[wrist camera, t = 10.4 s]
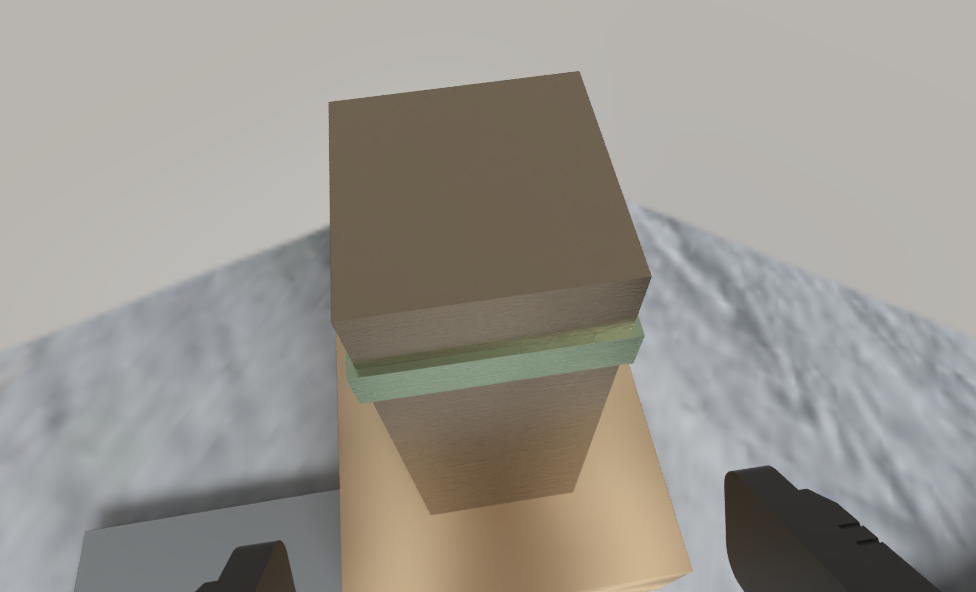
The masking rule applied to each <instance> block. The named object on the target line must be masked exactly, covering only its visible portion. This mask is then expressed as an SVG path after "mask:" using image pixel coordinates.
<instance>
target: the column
mask: <svg viewBox="0 0 976 592" xmlns="http://www.w3.org/2000/svg"><path fill="white" fill-rule="evenodd" d="M329 166H330V167H329V171H330V261H331V323H332V325H333V327H334V329H335V331H336V333H337V334H338V336H339V338H340V340H341V342H342V344H343V346H344V348H345V353H346V380H347V382H348V384H349V386H350V387H351V389H352V391H353V393H354V394H355V396H356V398H357V400H358V401H359V403H360V404H363V403H370V402H373V404H374V406H375V408H376V410H377V412H378V414H379V416H380V418H381V420H382V422H383V423H384V425H385V427H386V429H387V431H388V433H389V435H390V437H391V439H392V441H393V443H394V445H395V447H396V449H397V451H398V452H399V454H400V456H401V458H402V460H403V462H404V464H405V466H406V468H407V470H408V472H409V474H410V476H411V478H412V480H413V481H414V483H415V485H416V487H417V489H418V491H419V493H420V495H421V497H422V499H423V501H424V503H425V505H426V507H427V509H428V510H429V512H430V514H431V515H436V514H442V513H448V512H454V511H461V510H467V509H473V508H479V507H486V506H492V505H498V504H504V503H510V502H517V501H523V500H529V499H535V498H542V497H548V496H554V495H560V494H567V493H573V491H574V489H575V486H576V483H577V480H578V478H579V475H580V472H581V469H582V467H583V464H584V461H585V458H586V456H587V453H588V450H589V447H590V445H591V442H592V439H593V436H594V434H595V431H596V428H597V425H598V423H599V420H600V417H601V414H602V412H603V409H604V406H605V403H606V401H607V398H608V395H609V392H610V390H611V387H612V384H613V381H614V379H615V376H616V373H617V370H618V368H619V365H624V364H630V363H634V360H635V358H636V355H637V353H638V350H639V348H640V346H641V343H642V341H643V338H644V333H643V329H642V326H641V323H640V320H639V317H638V313H639V310H640V307H641V304H642V302H643V299H644V296H645V293H646V291H647V288H648V285H649V282H650V280H651V277H652V276H651V273H650V270H649V268H648V265H647V262H646V259H645V256H644V253H643V251H642V248H641V245H640V242H639V239H638V236H637V234H636V231H635V228H634V225H633V222H632V219H631V217H630V214H629V211H628V208H627V205H626V202H625V199H624V197H623V194H622V191H621V188H620V185H619V182H618V180H617V177H616V174H615V171H614V168H613V166H612V163H611V160H610V157H609V154H608V151H607V148H606V146H605V143H604V140H603V137H602V134H601V131H600V129H599V126H598V123H597V120H596V117H595V114H594V112H593V109H592V106H591V103H590V100H589V97H588V95H587V92H586V89H585V86H584V83H583V80H582V77H581V75H580V72H579V71H577V72H568V73H561V74H553V75H544V76H536V77H528V78H520V79H512V80H504V81H496V82H487V83H479V84H471V85H463V86H455V87H447V88H440V89H431V90H423V91H415V92H407V93H399V94H391V95H382V96H374V97H366V98H359V99H351V100H342V101H334V102H329Z"/></svg>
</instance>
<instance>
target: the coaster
mask: <svg viewBox="0 0 976 592" xmlns="http://www.w3.org/2000/svg"><path fill="white" fill-rule="evenodd" d="M278 540H281V541H282V542H283V543H284V545H285V547H286V550H287V554H288V558H289V563H290V567H291V572H292V576H293V581H294V585H295V590H296V592H342V559H341V520H340V489H338V490H332V491H326V492H320V493H314V494H308V495H301V496H295V497H289V498H283V499H277V500H271V501H265V502H259V503H253V504H247V505H241V506H235V507H229V508H223V509H217V510H211V511H205V512H199V513H193V514H187V515H181V516H175V517H169V518H163V519H157V520H151V521H145V522H139V523H133V524H127V525H120V526H114V527H108V528H102V529H96V530H90V531H85V536H84V541H83V546H82V552H81V557H80V562H79V568H78V573H77V578H76V583H75V589H74V592H195V591H196V590H197V589H198V588H199V587H200V586H201V585H202V584H203V583H205V582H212V581H218V579H219V577H220V575H221V573H222V571H223V569H224V567H225V565H226V563H227V561H228V560H229V558H230V556H231V554H232V552H233V550H234V549H235V548H236V547H239V546H245V545H252V544H258V543H265V542H271V541H278Z"/></svg>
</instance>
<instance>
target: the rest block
mask: <svg viewBox="0 0 976 592" xmlns="http://www.w3.org/2000/svg"><path fill="white" fill-rule="evenodd" d="M336 364H337V403H338V442H339V481H340V520H341V559H342V592H648V591H654V590H657V589H659V588H661V587H663V586H665V585H667V584H669V583H671V582H672V581H674V580H676V579H678V578H680V577H682V576H684V575H686V574H688V573H690V572H691V571H692V568H691V564H690V561H689V558H688V555H687V551H686V548H685V545H684V542H683V539H682V535H681V532H680V529H679V526H678V522H677V519H676V516H675V513H674V509H673V506H672V503H671V500H670V497H669V493H668V490H667V487H666V484H665V480H664V477H663V474H662V471H661V468H660V464H659V461H658V458H657V455H656V451H655V448H654V445H653V442H652V438H651V435H650V432H649V429H648V426H647V422H646V419H645V416H644V413H643V409H642V406H641V403H640V400H639V396H638V393H637V390H636V387H635V384H634V380H633V377H632V374H631V371H630V367H629V364H624V365H619V368H618V370H617V373H616V376H615V379H614V381H613V384H612V387H611V390H610V392H609V395H608V398H607V401H606V403H605V406H604V409H603V412H602V414H601V417H600V420H599V423H598V425H597V428H596V431H595V434H594V436H593V439H592V442H591V445H590V447H589V450H588V453H587V456H586V458H585V461H584V464H583V467H582V469H581V472H580V475H579V478H578V480H577V483H576V486H575V489H574V491H573V493H567V494H560V495H554V496H548V497H542V498H535V499H529V500H523V501H517V502H510V503H504V504H498V505H492V506H486V507H479V508H473V509H467V510H461V511H454V512H448V513H442V514H436V515H431V514H430V512H429V510H428V509H427V507H426V505H425V503H424V501H423V499H422V497H421V495H420V493H419V491H418V489H417V487H416V485H415V483H414V481H413V480H412V478H411V476H410V474H409V472H408V470H407V468H406V466H405V464H404V462H403V460H402V458H401V456H400V454H399V452H398V451H397V449H396V447H395V445H394V443H393V441H392V439H391V437H390V435H389V433H388V431H387V429H386V427H385V425H384V423H383V422H382V420H381V418H380V416H379V414H378V412H377V410H376V408H375V406H374V404H373V402H370V403H363V404H360V403H359V401H358V400H357V398H356V396H355V394H354V393H353V391H352V389H351V387H350V386H349V384H348V382H347V380H346V353H345V348H344V346H343V344H342V342H341V340H340V338H339V336H338V334H337V333H336Z"/></svg>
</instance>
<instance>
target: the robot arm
mask: <svg viewBox="0 0 976 592" xmlns="http://www.w3.org/2000/svg"><path fill="white" fill-rule="evenodd" d="M724 491H725V521H726V547H727V554H728V558H729V562H730V565H731V568H732V571H733V573H734V576H735V578H736V580H737V581H738V583H739V585H740V586H741V588H742V589H743V590H744V592H941V591H940V590H938V589H937V588H936V587H935V586H934V585H932V584H931V583H930V582H929V581H928V580H927V579H925V578H924V577H923V576H922V575H921V574H920V573H918V572H917V571H916V570H915V569H914V568H913V567H911V566H910V565H909V564H908V563H907V562H906V561H904V560H903V559H902V558H901V557H900V556H898V555H897V554H896V553H895V552H894V551H893V550H891V549H890V548H889V547H888V546H887V545H886V544H884V543H883V542H881V543H880V542H879V540H878V538H877V537H876V536H875V535H874V534H873V533H872V532H870V531H869V530H868V529H867V528H866V527H864V526H860V524H859V521H857V520H856V519H855V518H854V517H853V516H852V515H850V514H849V513H848V512H847V511H846V510H845V509H843V508H842V507H841V506H840V505H839V504H837V503H836V502H834V501H832V500H829V499H827V498H825V497H823V496H821V495H819V494H817V493H815V492H813V491H811V490H809V489H802V490H798V489H797V488H796V487H794V486H793V485H792V484H791V483H790V482H789V481H788V480H787V479H786V478H785V477H783V476H782V475H781V474H780V473H779V472H778V471H777V470H776V469H774V468H773V467H771V466H762V467H755V468H749V469H742V470H736V471H730V472H728V473H727V474H726V476H725V481H724ZM195 592H296V590H295V585H294V581H293V576H292V572H291V567H290V563H289V558H288V554H287V550H286V547H285V545H284V543H283V542H282V541H281V540H278V541H271V542H265V543H258V544H252V545H245V546H239V547H236V548H235V549H234V550H233V552H232V554H231V556H230V558H229V560H228V561H227V563H226V565H225V567H224V569H223V571H222V573H221V575H220V577H219V579H218V581H212V582H205V583H203V584H202V585H201V586H200V587H199V588H198V589H197V590H196V591H195Z"/></svg>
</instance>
